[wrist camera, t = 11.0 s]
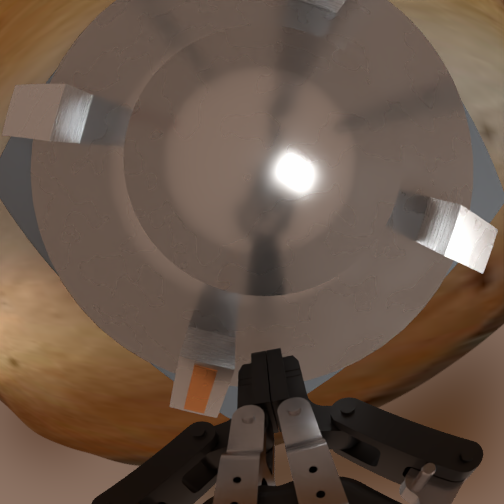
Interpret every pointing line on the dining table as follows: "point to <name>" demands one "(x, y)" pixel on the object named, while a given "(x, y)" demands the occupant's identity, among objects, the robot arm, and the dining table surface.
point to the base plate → (22, 210)
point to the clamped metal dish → (250, 181)
